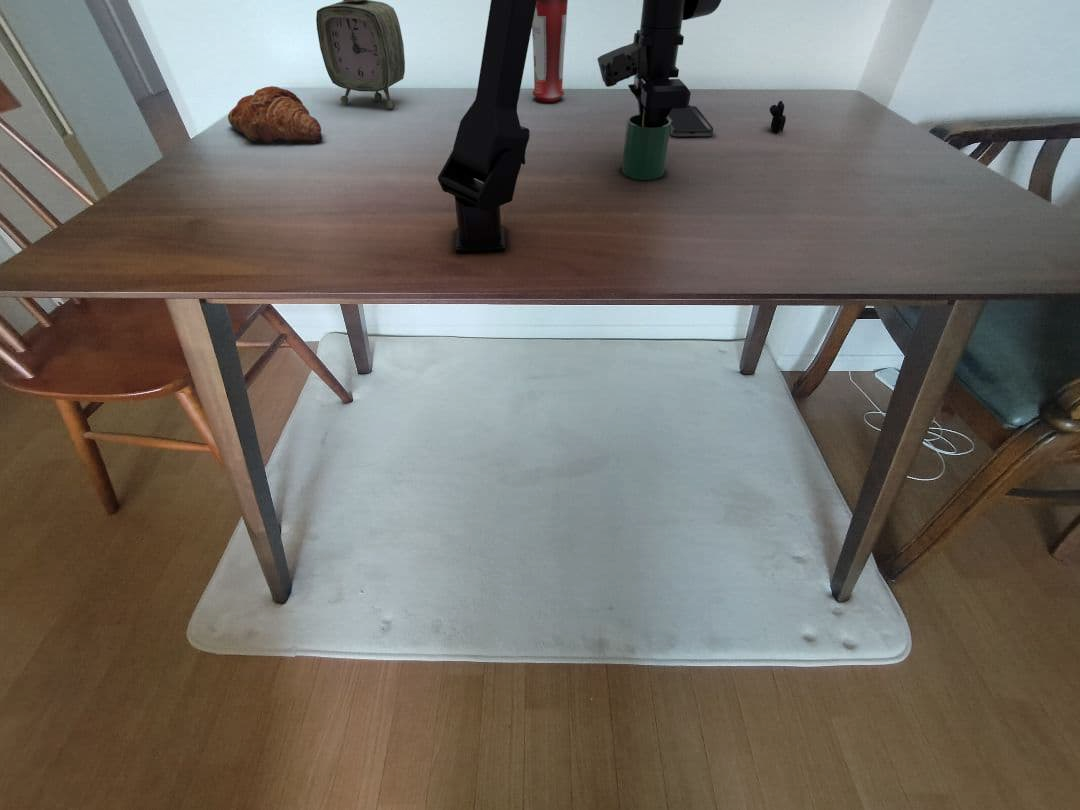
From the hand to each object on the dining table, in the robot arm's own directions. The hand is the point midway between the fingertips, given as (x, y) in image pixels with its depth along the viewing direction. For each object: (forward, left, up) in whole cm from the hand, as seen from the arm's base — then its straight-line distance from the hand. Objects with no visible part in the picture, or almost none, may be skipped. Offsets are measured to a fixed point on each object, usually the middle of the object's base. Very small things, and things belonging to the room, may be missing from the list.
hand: (646, 140), depth 92 cm
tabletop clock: (+41, +49, -5) cm, 64 cm away
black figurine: (+18, -29, -5) cm, 35 cm away
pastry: (+23, +65, -5) cm, 69 cm away
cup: (0, 0, -5) cm, 5 cm away
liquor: (+41, +12, -5) cm, 43 cm away
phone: (+23, -13, -5) cm, 27 cm away
